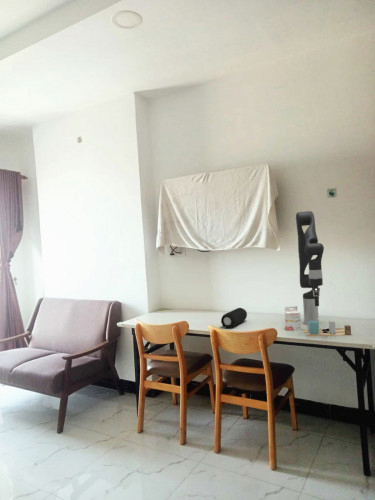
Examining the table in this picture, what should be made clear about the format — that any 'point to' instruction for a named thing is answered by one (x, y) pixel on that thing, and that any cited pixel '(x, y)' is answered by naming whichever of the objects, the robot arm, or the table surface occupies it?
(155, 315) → the table surface
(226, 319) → the portable speaker
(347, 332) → the walnut post
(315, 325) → the aqua square block
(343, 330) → the oak board
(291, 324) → the ink cartridge box
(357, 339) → the table surface
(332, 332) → the grey post
